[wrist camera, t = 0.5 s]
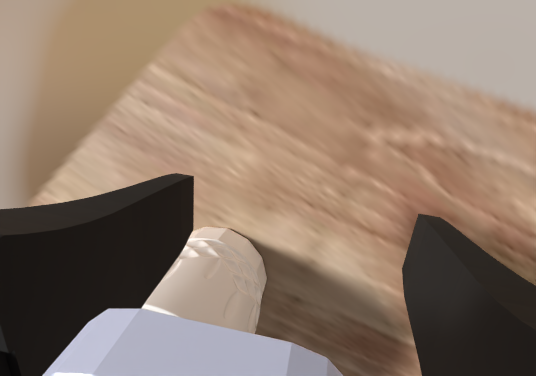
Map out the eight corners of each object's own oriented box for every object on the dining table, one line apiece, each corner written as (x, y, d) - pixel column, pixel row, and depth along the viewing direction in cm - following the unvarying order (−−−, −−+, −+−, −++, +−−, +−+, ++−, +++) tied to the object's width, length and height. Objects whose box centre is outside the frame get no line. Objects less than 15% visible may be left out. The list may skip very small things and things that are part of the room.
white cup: (196, 334, 27) (117, 469, 18) (144, 240, 26) (29, 331, 16) (295, 304, 25) (266, 440, 15) (244, 199, 24) (178, 278, 14)
